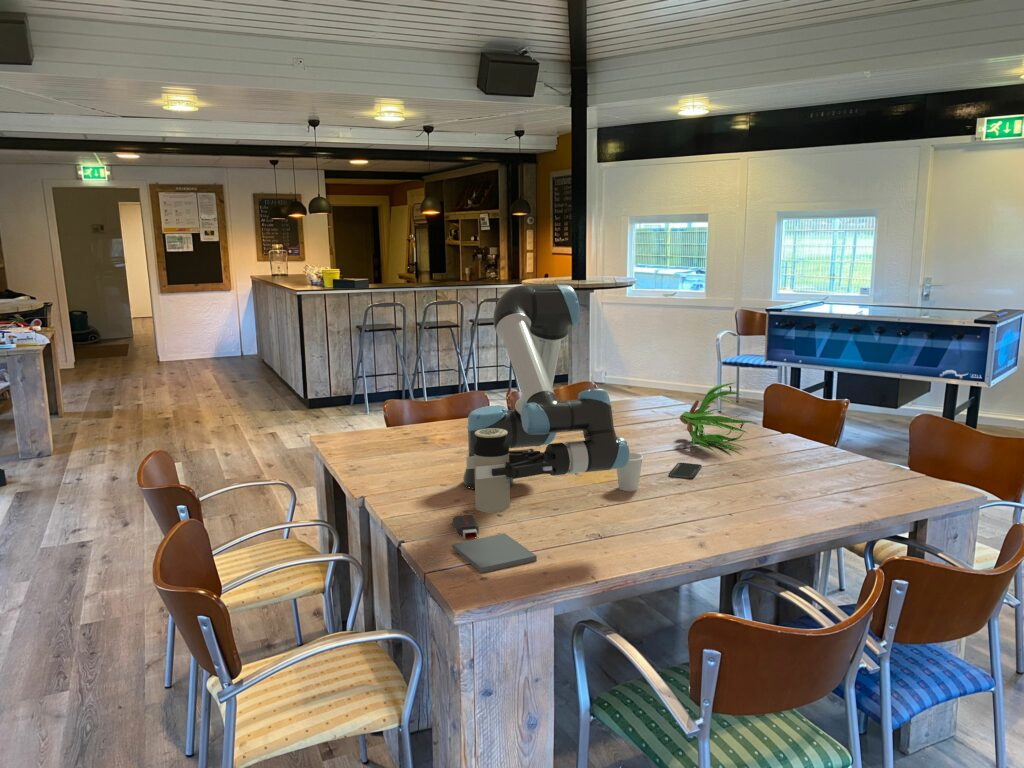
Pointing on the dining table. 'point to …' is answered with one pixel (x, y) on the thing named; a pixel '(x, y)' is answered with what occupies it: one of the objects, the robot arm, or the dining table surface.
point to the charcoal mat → (494, 552)
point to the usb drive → (466, 526)
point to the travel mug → (491, 451)
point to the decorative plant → (710, 421)
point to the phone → (685, 470)
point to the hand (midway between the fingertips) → (471, 467)
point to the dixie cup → (630, 473)
